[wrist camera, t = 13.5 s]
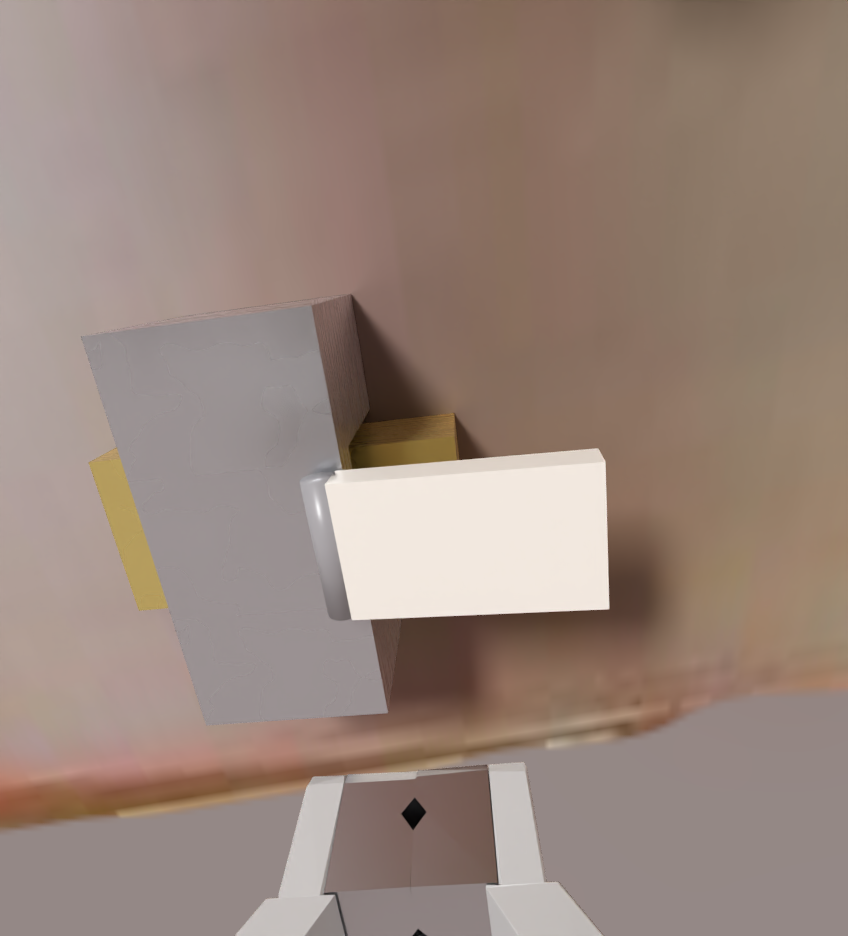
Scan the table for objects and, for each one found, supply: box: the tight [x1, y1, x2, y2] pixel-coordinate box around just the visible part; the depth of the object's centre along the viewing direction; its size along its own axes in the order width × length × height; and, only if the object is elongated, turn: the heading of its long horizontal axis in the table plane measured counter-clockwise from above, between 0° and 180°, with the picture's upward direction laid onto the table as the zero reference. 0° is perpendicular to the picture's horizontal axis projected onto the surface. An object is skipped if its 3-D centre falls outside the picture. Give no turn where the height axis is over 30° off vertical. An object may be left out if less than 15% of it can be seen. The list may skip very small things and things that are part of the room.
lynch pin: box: [89, 413, 460, 611], centre depth 19 cm, size 10×5×5 cm, turn 97°
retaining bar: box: [300, 449, 609, 621], centre depth 15 cm, size 1×4×8 cm
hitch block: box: [81, 294, 402, 725], centre depth 19 cm, size 6×12×6 cm, turn 7°
